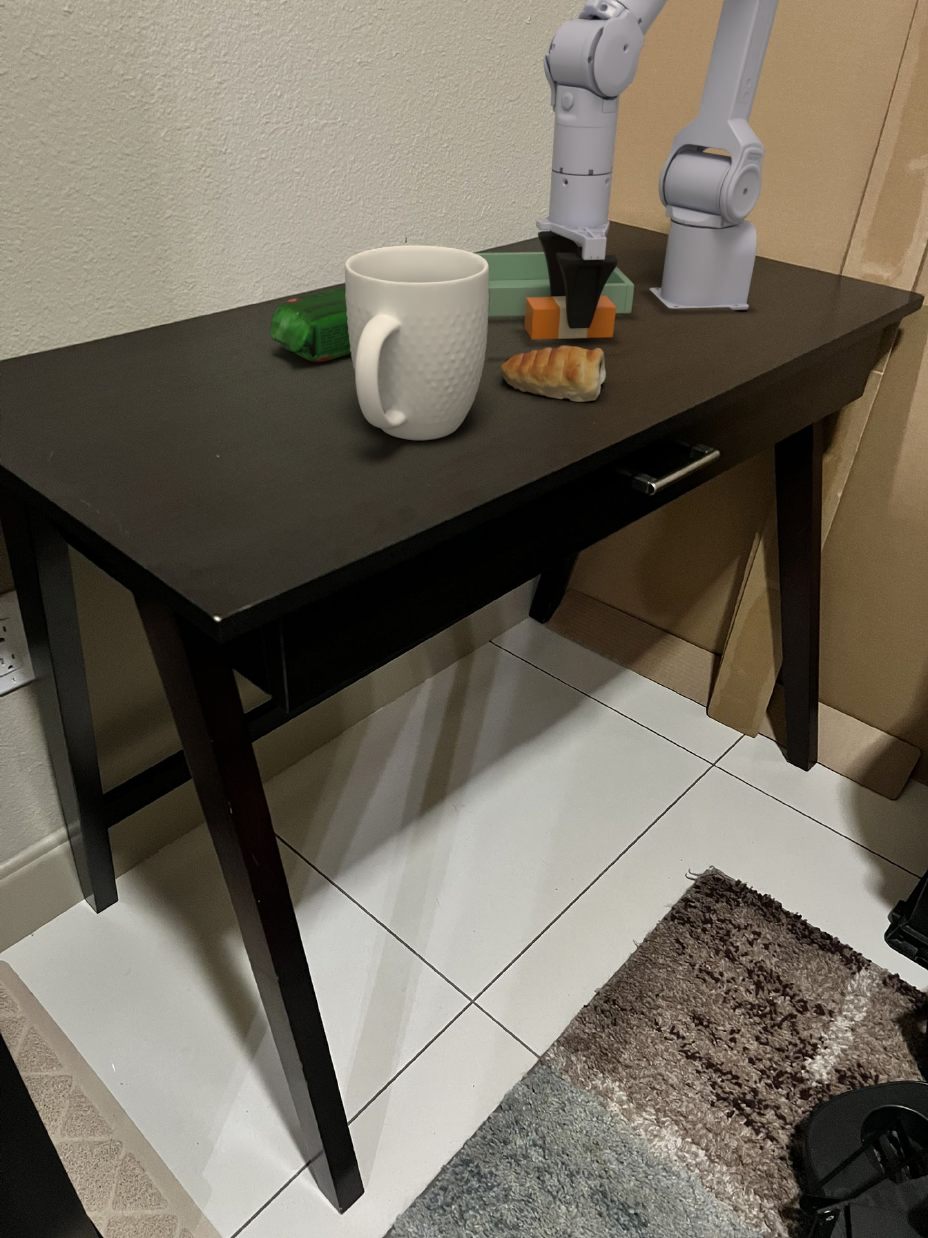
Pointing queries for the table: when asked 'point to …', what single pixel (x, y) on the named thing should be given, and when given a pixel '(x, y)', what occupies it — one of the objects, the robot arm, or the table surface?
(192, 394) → the table surface
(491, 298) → the tub
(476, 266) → the mug
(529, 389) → the pastry
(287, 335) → the snack package
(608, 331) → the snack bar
